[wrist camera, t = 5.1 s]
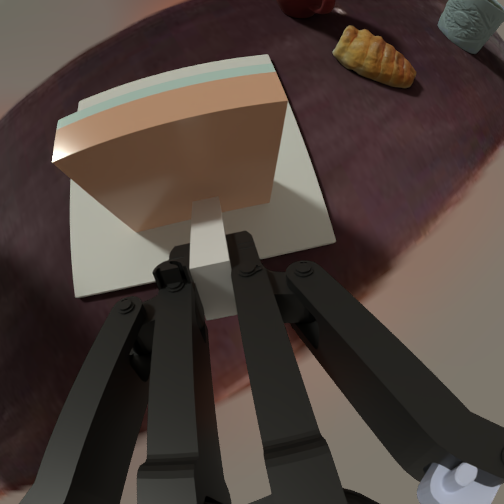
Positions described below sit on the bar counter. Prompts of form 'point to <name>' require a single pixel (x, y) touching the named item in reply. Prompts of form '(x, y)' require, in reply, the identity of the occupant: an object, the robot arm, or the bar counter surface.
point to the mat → (166, 237)
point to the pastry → (373, 58)
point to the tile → (178, 145)
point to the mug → (305, 7)
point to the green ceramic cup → (471, 22)
